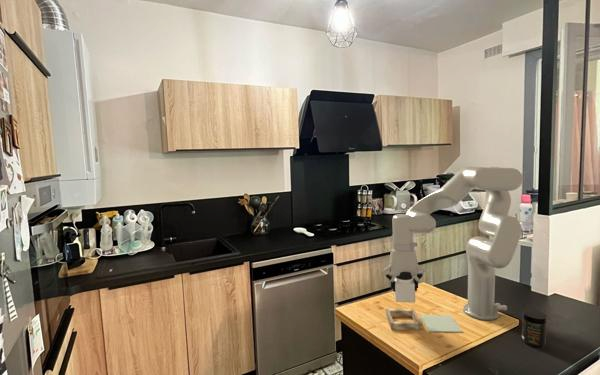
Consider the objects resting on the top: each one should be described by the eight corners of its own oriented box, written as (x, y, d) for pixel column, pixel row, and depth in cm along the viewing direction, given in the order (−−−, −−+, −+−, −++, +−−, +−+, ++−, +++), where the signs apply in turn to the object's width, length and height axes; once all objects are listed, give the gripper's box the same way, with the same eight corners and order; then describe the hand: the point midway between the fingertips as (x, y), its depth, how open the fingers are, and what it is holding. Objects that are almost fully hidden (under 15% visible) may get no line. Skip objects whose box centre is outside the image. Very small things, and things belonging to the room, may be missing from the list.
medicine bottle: (415, 303, 123) (415, 272, 121) (395, 302, 124) (395, 272, 123) (412, 294, 130) (412, 266, 128) (394, 294, 131) (393, 265, 130)
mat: (450, 316, 131) (450, 315, 131) (462, 332, 119) (462, 331, 119) (420, 315, 132) (420, 315, 132) (429, 331, 120) (429, 330, 120)
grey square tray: (413, 315, 133) (413, 309, 132) (421, 330, 121) (421, 323, 121) (385, 314, 134) (385, 309, 133) (391, 329, 122) (390, 323, 122)
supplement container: (549, 350, 107) (550, 320, 106) (526, 347, 109) (527, 317, 108) (540, 338, 113) (541, 310, 112) (518, 336, 115) (519, 308, 114)
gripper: (423, 242, 127) (424, 285, 129) (378, 244, 129) (380, 286, 131) (429, 248, 120) (430, 293, 122) (381, 250, 122) (383, 294, 123)
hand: (404, 289), depth 126 cm, fingers closed on medicine bottle, 7 cm apart
